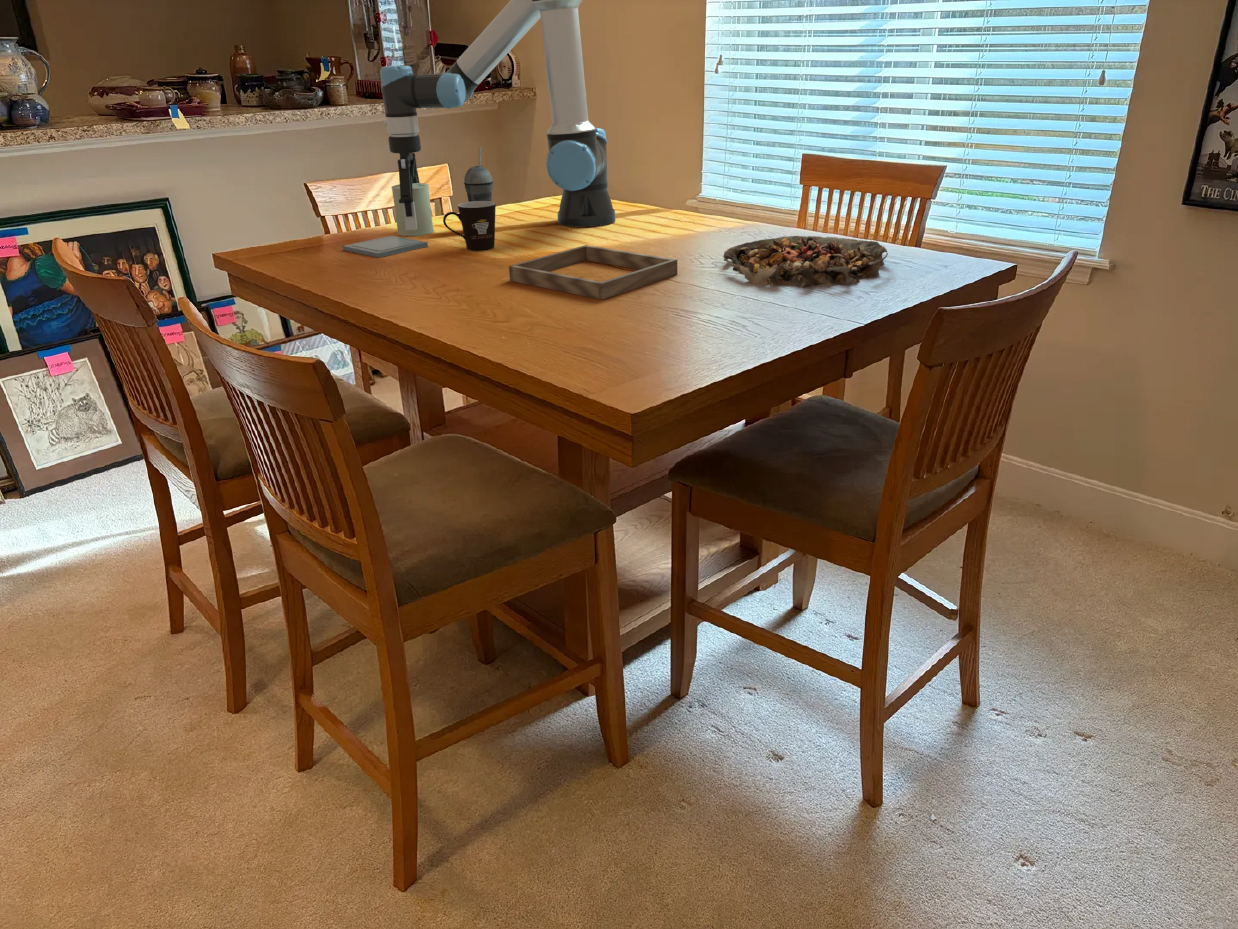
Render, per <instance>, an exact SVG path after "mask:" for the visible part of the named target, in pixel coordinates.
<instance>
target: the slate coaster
mask: <svg viewBox="0 0 1238 929" xmlns="http://www.w3.org/2000/svg"><path fill="white" fill-rule="evenodd" d="M426 247H427V248H428V242H427V241H422V240H419V239H412V238H406V237H403V236H402V237H401V236H395V235H388V236H383V237H377V238H373V239H367V240H365V241H359V242H355V243H351V244H346V245H345V244H344V245H342V251H346V252H350V253H354V254H359V255H364V256H370V257H374V258H377V259H378V258H383V257H388V256H392V255H397V254H402V253H404V252H405V253H406V252H410V251H415V250H418V249H424V248H426Z"/></svg>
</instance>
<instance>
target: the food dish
mask: <svg viewBox="0 0 1238 929" xmlns="http://www.w3.org/2000/svg"><path fill="white" fill-rule="evenodd" d="M884 253H885V256H884V257H883V254H884ZM888 255H889V253H888V250H887V248H886V247H885V246H884V245H881V244H880V243H879V242H878V241H876V240H863V239H855V238H846V237H833V236H826V237H823V236H818V235H817V236H816V235H815V236H814V235H809V236H804V235H789V236H780V237H776V238H767V239H766V238H764V239H758V240H753V241H750V242H749V241H748V242H745V243H741V244H738V245H737V244H736V245H734V246H731V247H729V248H728V249H726V250H725V251H724V252H723V260H724V262H726V263H727V264H728V265H730V266H732V270H733V271H735V272H738V274H741V275H744V278H745V279H746V280H747V281H748V282H749V283H750V284H752V285H758V286H776V287H777V286H780V287H781V286H785V287H798V288H800V289H802V288H809V287H810V288H816V287H817V288H818V287H820V288H826V287H827V288H828V287H833V286H847V285H852V284H853V285H854V284H856V283H860V282H861V280H864V279H874V278H877V277H879V275H880V273H879V272H880V271H879V270H880V267H883V266H884V265H885V262H884V260H886V258H887V256H888ZM731 261H732V262H731Z"/></svg>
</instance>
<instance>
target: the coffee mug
mask: <svg viewBox="0 0 1238 929" xmlns="http://www.w3.org/2000/svg"><path fill="white" fill-rule="evenodd" d="M457 208H458V212H459V213H457V212H454V211H450V212H446V214H444V215H443V218H442V219H443V220H442V222H443V225H444V226H445V227H446V229H448V230H449V231H450V232H452V233H453V234H456V235H457V236H459V237H461V238H463V239H464V241H465V245H466V249H467V251H471V252H487V251H490V250H493V249H495V242H496V241H495V240H496V202H495V201H492V202H491V201H472V202H469V201H466V202H461V203H458V204H457ZM450 215H454V216H456V217H457V218H458V220H459V221H460V222H461V226H462V231H463V234H462V233H460V232H458V231H456V230H454V229H453V228H451V227H450V226H448V225H447V222H446V219H447V217H449V216H450Z"/></svg>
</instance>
